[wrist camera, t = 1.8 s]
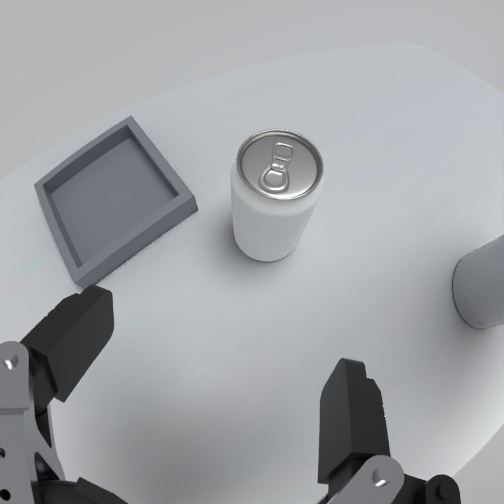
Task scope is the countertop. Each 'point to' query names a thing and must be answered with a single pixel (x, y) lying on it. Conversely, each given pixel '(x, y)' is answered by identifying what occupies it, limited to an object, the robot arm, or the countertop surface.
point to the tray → (111, 201)
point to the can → (274, 192)
